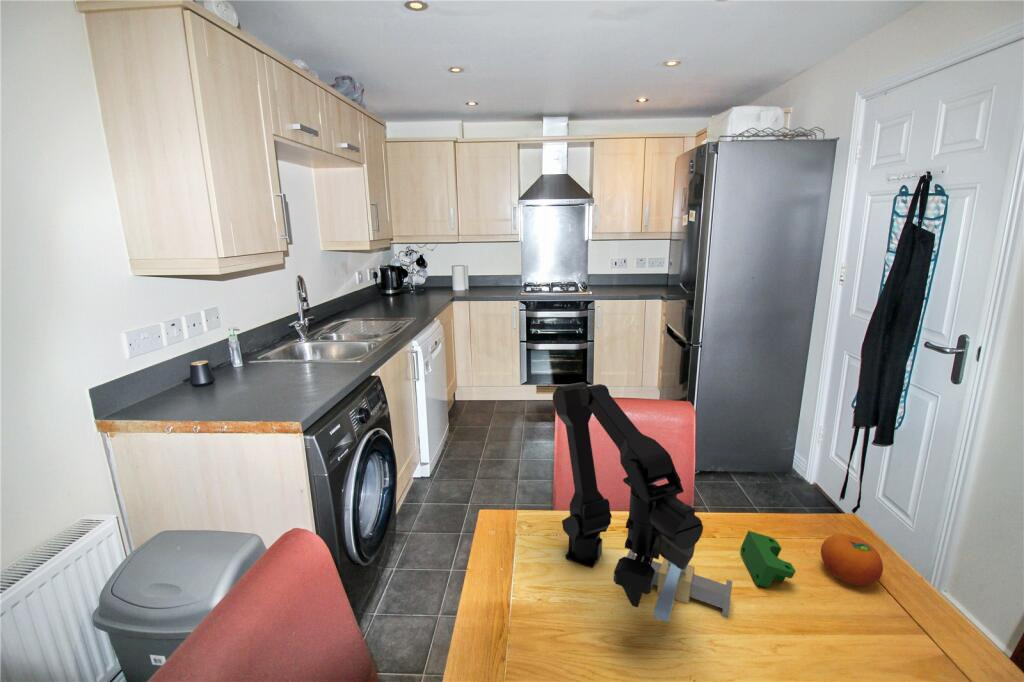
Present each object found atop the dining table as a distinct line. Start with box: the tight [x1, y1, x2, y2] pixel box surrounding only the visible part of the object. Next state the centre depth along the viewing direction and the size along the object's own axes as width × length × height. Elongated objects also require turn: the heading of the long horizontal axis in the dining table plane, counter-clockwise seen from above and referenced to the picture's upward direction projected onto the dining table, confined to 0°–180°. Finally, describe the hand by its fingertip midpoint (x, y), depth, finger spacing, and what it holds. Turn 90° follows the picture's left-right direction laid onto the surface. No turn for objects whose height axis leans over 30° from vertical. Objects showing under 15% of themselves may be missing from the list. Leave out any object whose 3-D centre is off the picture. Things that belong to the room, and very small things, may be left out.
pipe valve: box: [626, 549, 733, 618], centre depth 94 cm, size 20×5×5 cm, turn 61°
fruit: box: [820, 533, 884, 586], centre depth 98 cm, size 11×10×8 cm
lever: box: [653, 561, 687, 623], centre depth 88 cm, size 4×17×2 cm, turn 151°
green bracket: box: [740, 530, 796, 588], centre depth 99 cm, size 12×6×9 cm, turn 166°
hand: (640, 588), depth 87 cm, fingers open, 9 cm apart
